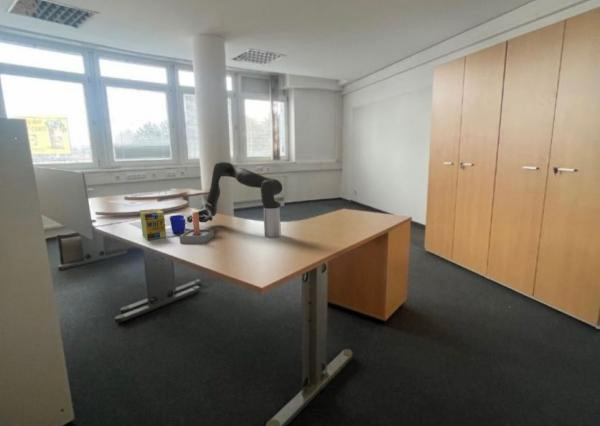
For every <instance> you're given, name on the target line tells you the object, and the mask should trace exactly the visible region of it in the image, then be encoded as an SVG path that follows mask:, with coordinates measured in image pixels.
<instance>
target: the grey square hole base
mask: <svg viewBox="0 0 600 426" xmlns="http://www.w3.org/2000/svg"><path fill="white" fill-rule="evenodd" d="M214 237H215V234H214V229H200V236H194V229H189V230H188V231H185V232H184V233H182V234H180V235H179V242H180V244H205V243H207V242H208V241H210V240H211V239H212V238H214Z"/></svg>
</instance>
